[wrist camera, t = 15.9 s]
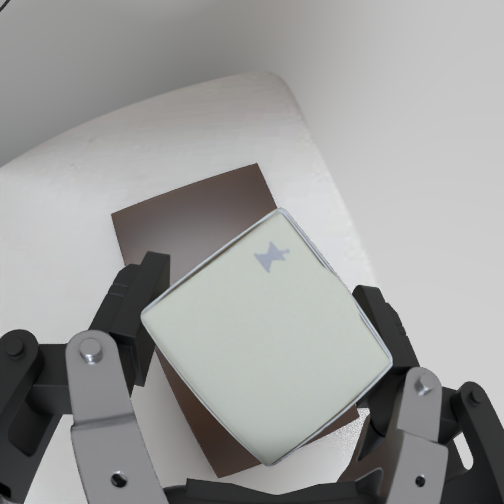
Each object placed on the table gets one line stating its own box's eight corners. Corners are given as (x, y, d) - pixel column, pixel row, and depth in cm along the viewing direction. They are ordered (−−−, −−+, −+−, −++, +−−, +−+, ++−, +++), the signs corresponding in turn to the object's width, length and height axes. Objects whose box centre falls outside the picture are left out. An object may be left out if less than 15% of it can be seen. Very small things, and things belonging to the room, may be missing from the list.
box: (182, 311, 19) (120, 304, 6) (238, 270, 20) (278, 191, 7) (233, 377, 18) (267, 478, 6) (287, 335, 19) (404, 361, 7)
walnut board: (113, 216, 20) (110, 213, 19) (256, 166, 22) (257, 162, 21) (218, 474, 17) (218, 478, 17) (356, 415, 19) (359, 417, 19)
